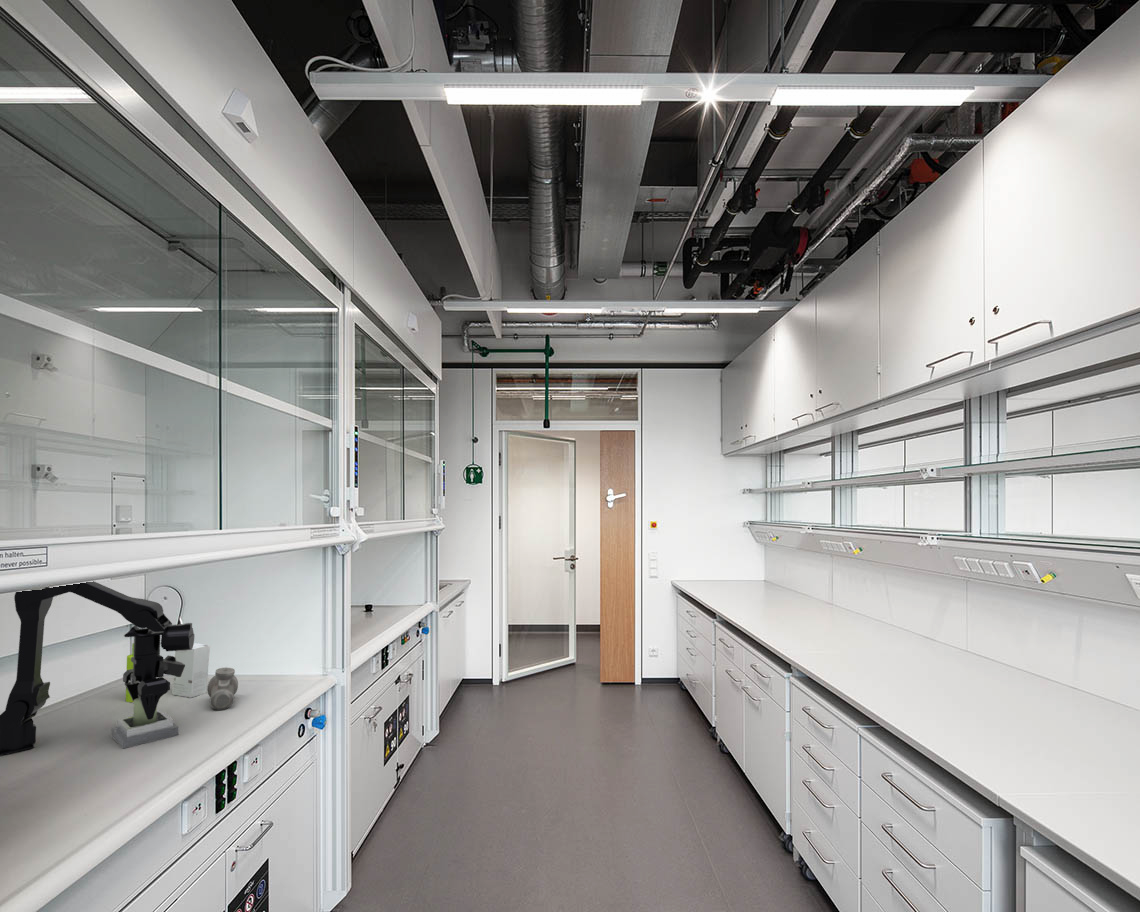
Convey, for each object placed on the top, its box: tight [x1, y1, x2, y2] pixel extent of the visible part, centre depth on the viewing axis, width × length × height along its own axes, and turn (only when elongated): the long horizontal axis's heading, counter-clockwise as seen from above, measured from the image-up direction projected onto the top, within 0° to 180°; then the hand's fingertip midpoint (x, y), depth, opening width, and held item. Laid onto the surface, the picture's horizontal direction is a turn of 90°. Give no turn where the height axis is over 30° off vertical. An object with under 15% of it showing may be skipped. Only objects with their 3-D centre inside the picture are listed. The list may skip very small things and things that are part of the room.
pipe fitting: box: [207, 666, 239, 711], centre depth 190 cm, size 12×8×10 cm
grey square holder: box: [110, 709, 180, 749], centre depth 167 cm, size 12×12×4 cm
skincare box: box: [171, 642, 211, 699], centre depth 201 cm, size 8×6×15 cm
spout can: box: [132, 698, 158, 727], centre depth 167 cm, size 5×5×9 cm
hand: (145, 714), depth 167 cm, fingers open, 9 cm apart
